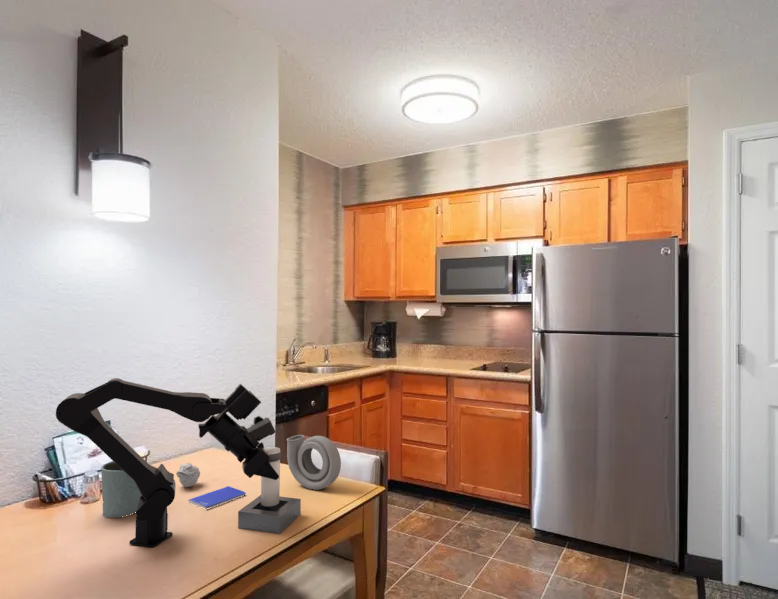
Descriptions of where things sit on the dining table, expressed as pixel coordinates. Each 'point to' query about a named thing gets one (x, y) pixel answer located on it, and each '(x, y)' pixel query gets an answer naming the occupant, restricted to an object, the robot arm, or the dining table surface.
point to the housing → (269, 515)
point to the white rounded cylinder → (271, 486)
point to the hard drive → (217, 497)
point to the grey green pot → (118, 491)
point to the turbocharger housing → (304, 466)
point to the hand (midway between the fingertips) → (276, 475)
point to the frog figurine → (188, 475)
